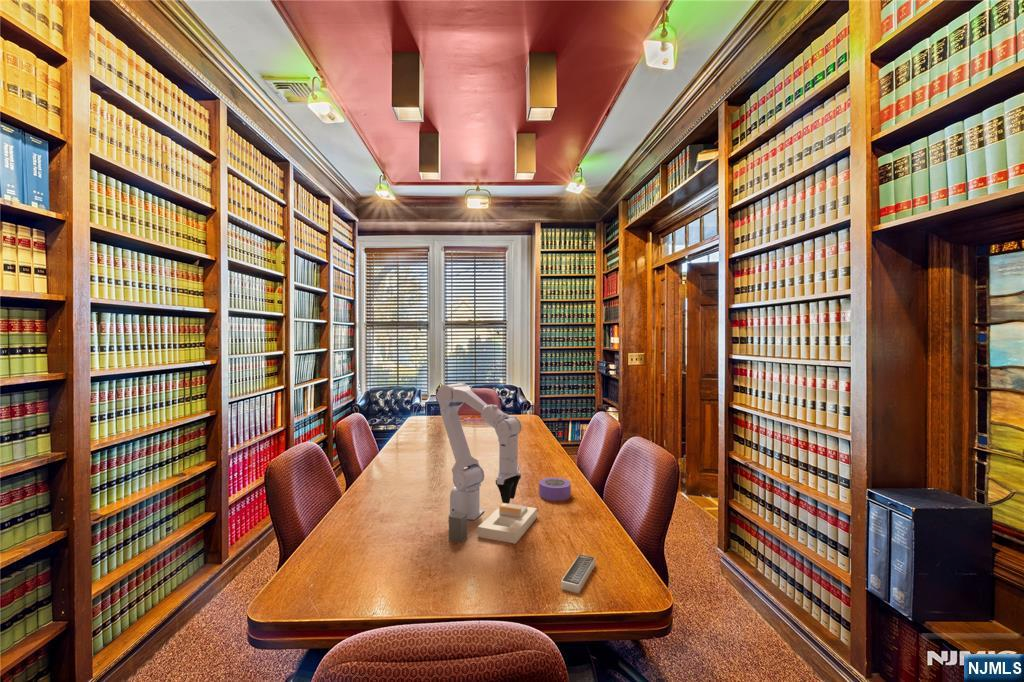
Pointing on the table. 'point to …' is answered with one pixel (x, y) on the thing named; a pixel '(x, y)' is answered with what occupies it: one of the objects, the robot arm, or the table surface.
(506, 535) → the socket plate
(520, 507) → the shutter
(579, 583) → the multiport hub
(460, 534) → the plug
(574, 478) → the table surface
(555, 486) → the tape roll
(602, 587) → the table surface
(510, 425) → the robot arm
